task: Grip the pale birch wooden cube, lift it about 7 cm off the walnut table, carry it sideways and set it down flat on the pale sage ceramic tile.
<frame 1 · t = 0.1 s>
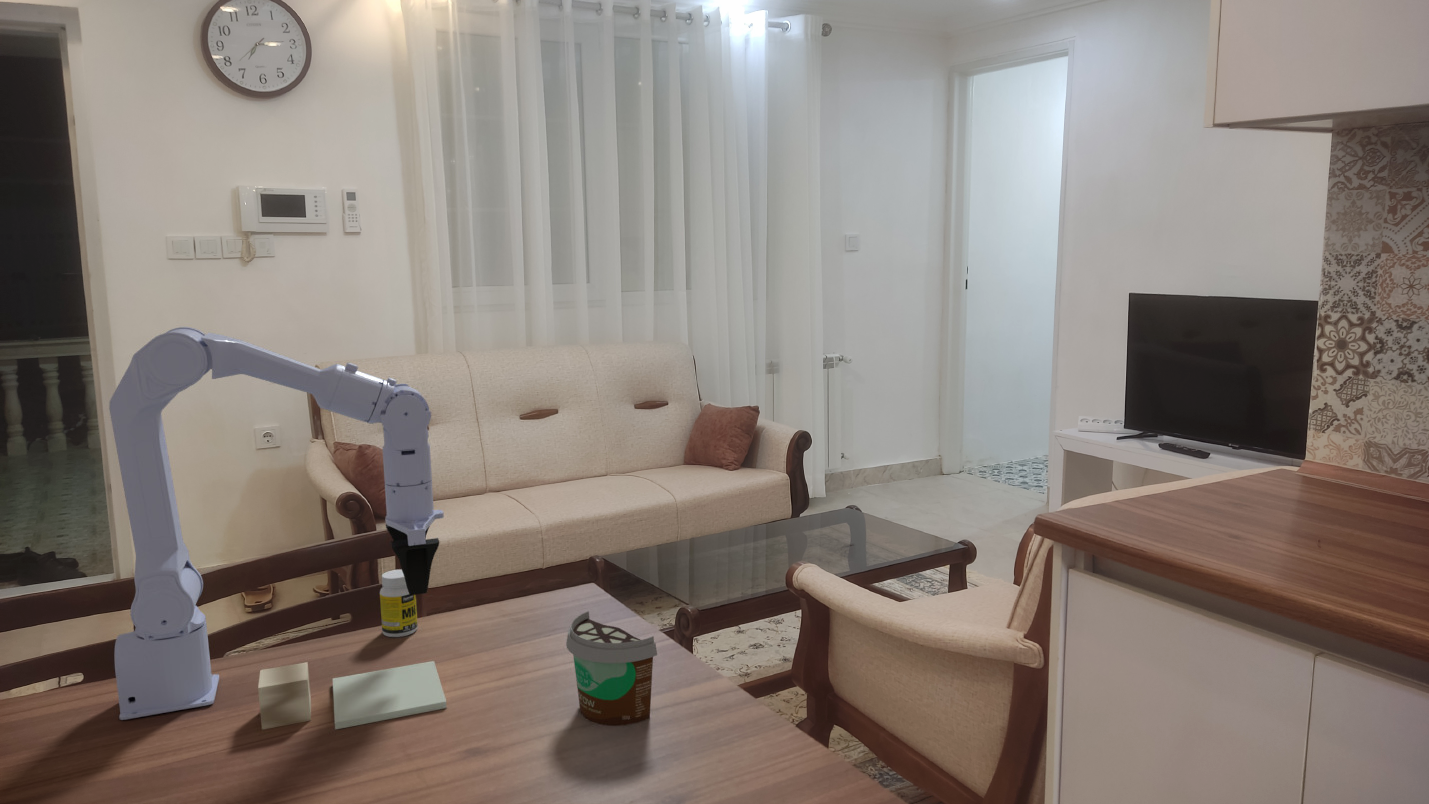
hand: (414, 583, 120), 10 cm above the table, fingers open, 7 cm apart
tile: (388, 695, 111), on the table
food container: (602, 716, 106), on the table
supplement bottle: (400, 632, 130), on the table
cube: (287, 715, 107), on the table
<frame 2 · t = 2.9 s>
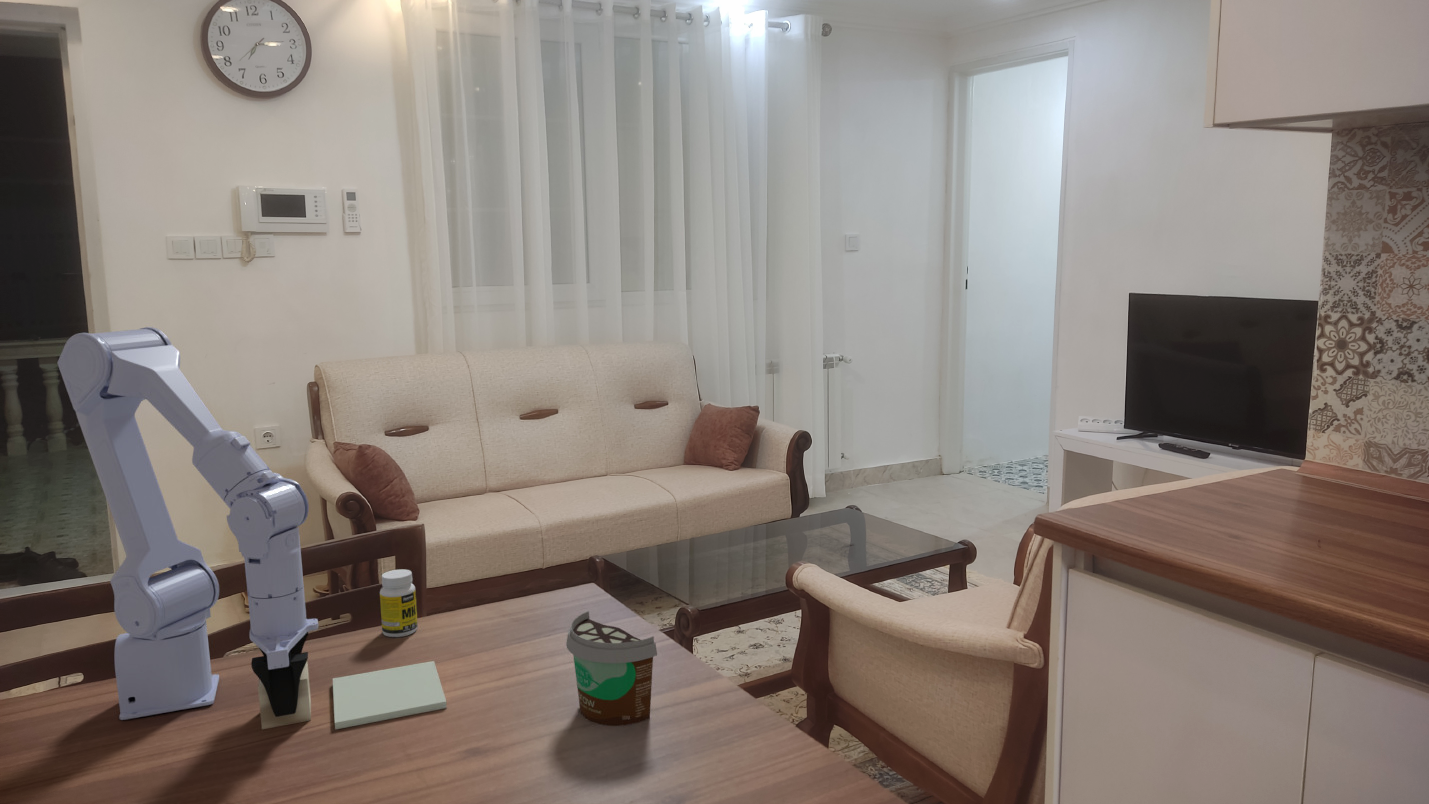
hand: (286, 703, 106), 1 cm above the table, fingers closed on cube, 5 cm apart
cube: (287, 714, 106), on the table, touching gripper
everything else where it was.
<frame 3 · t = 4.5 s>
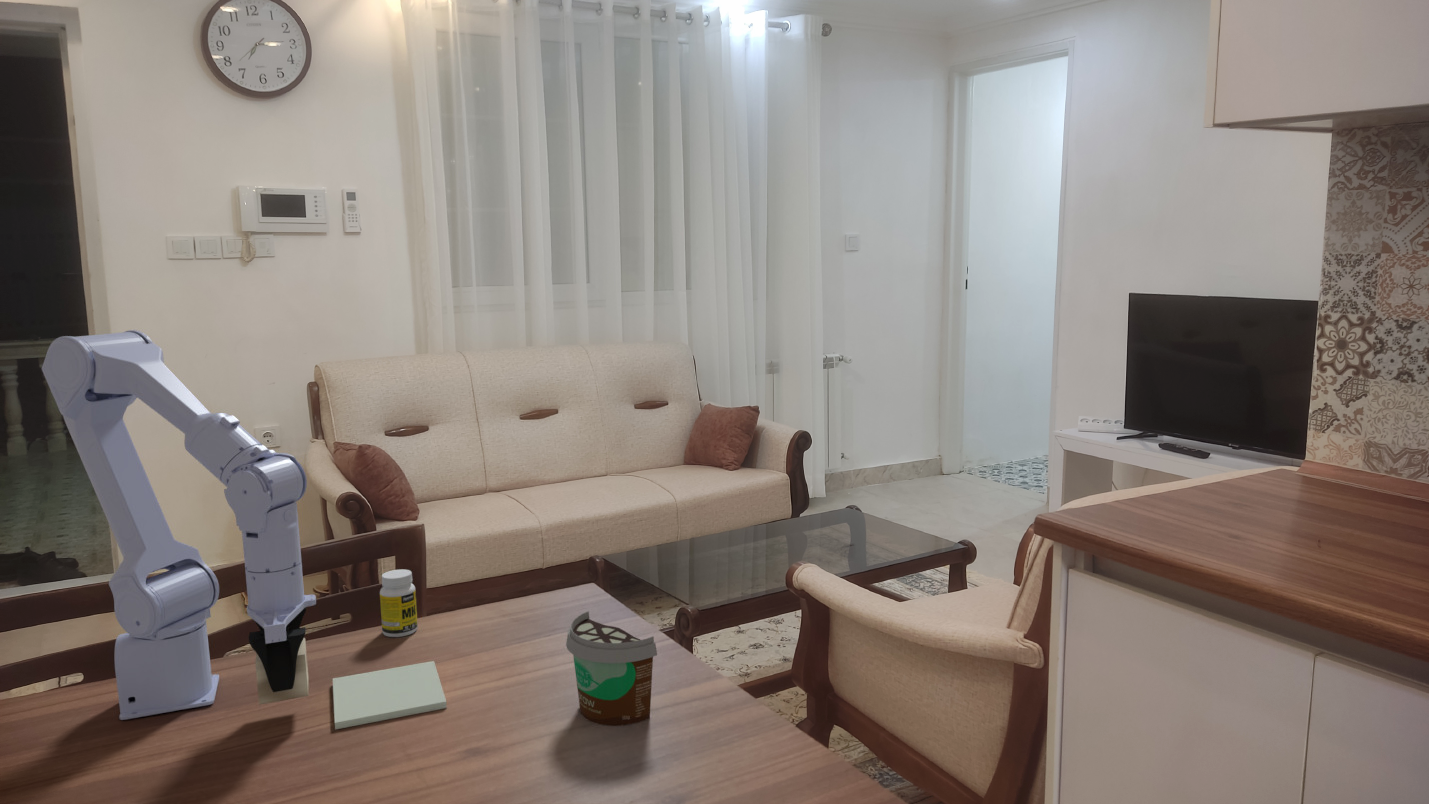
hand: (283, 679, 106), 4 cm above the table, fingers closed on cube, 5 cm apart
cube: (284, 690, 106), point 3 cm above the table, touching gripper
everything else where it was.
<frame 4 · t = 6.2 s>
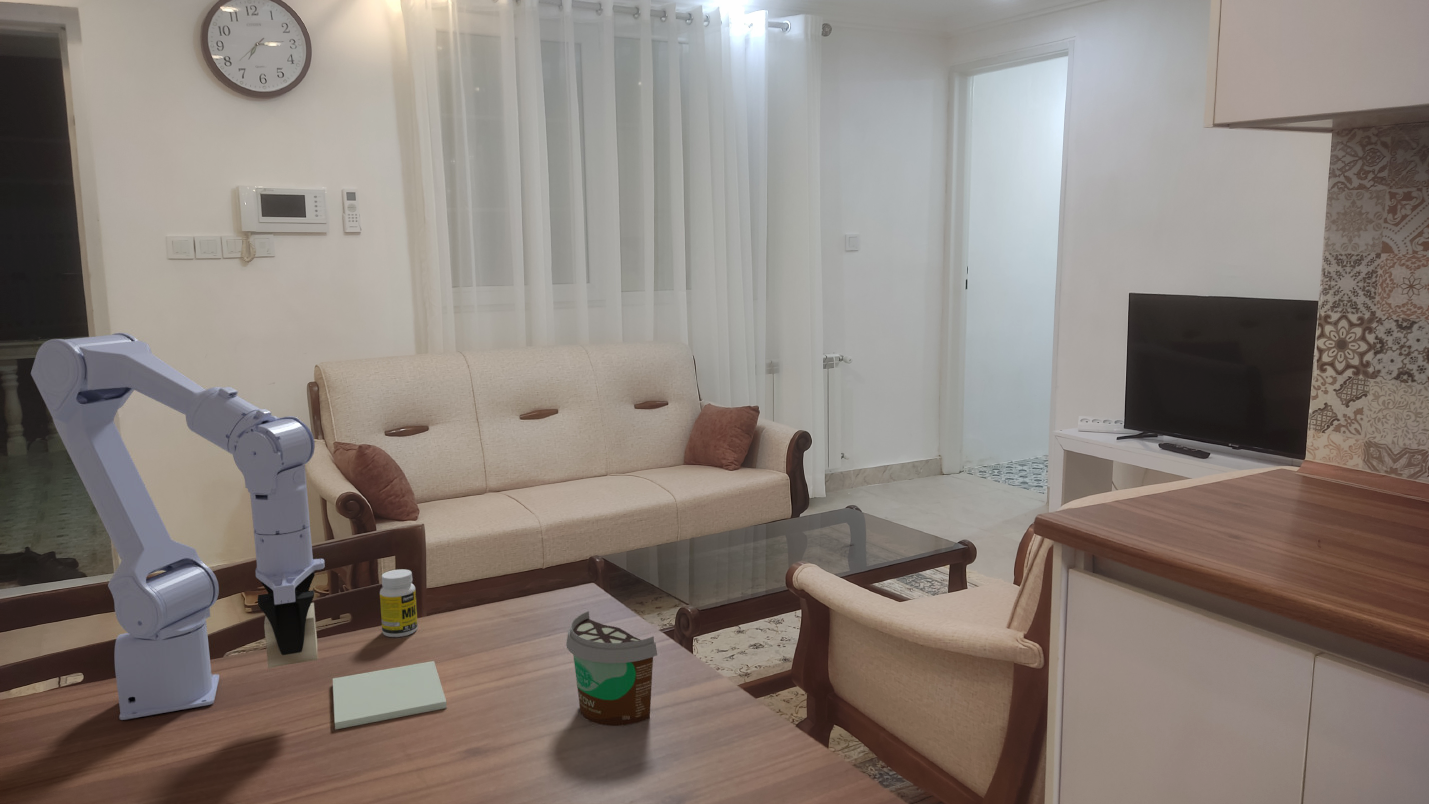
hand: (292, 643, 106), 8 cm above the table, fingers closed on cube, 5 cm apart
cube: (293, 655, 106), point 7 cm above the table, touching gripper
everything else where it was.
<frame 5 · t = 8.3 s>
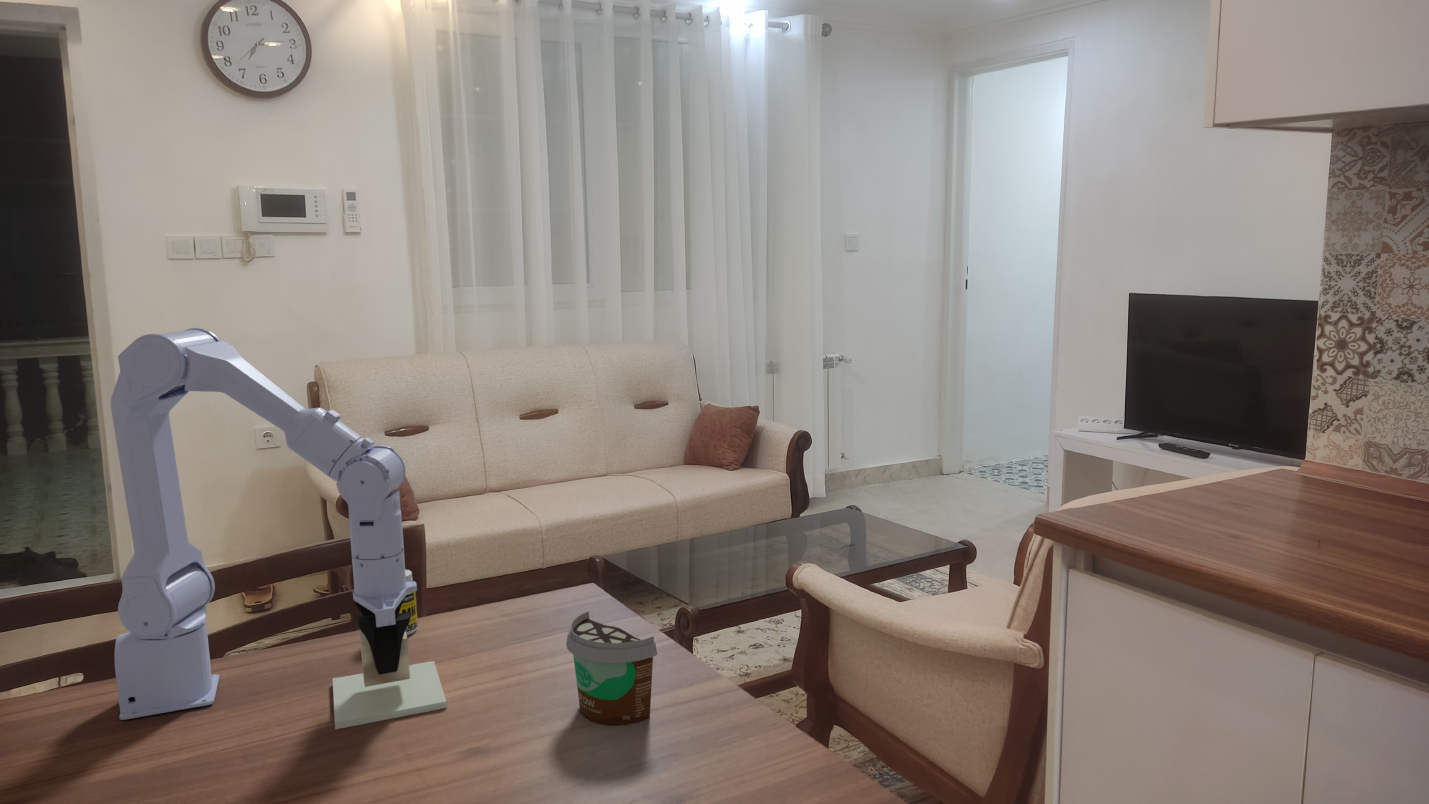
hand: (386, 662, 110), 4 cm above the table, fingers closed on cube, 5 cm apart
cube: (386, 674, 110), point 3 cm above the table, touching gripper
everything else where it was.
when the fingers open (3 cm above the table, at t = 9.7 s): cube drops 1 cm, resting on tile.
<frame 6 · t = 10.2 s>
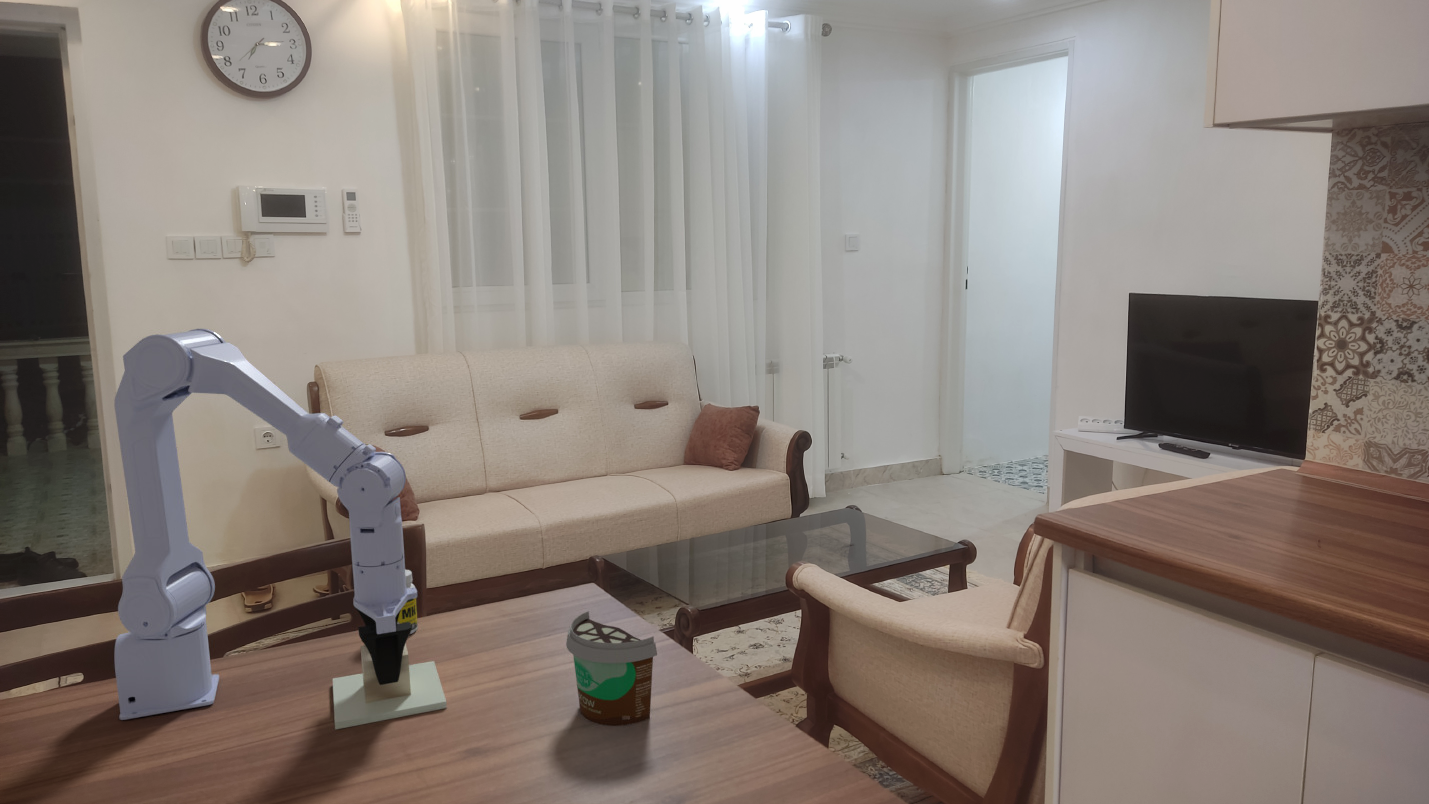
hand: (386, 669, 110), 3 cm above the table, fingers open, 7 cm apart
cube: (387, 689, 111), point 1 cm above the table, touching tile
everything else where it was.
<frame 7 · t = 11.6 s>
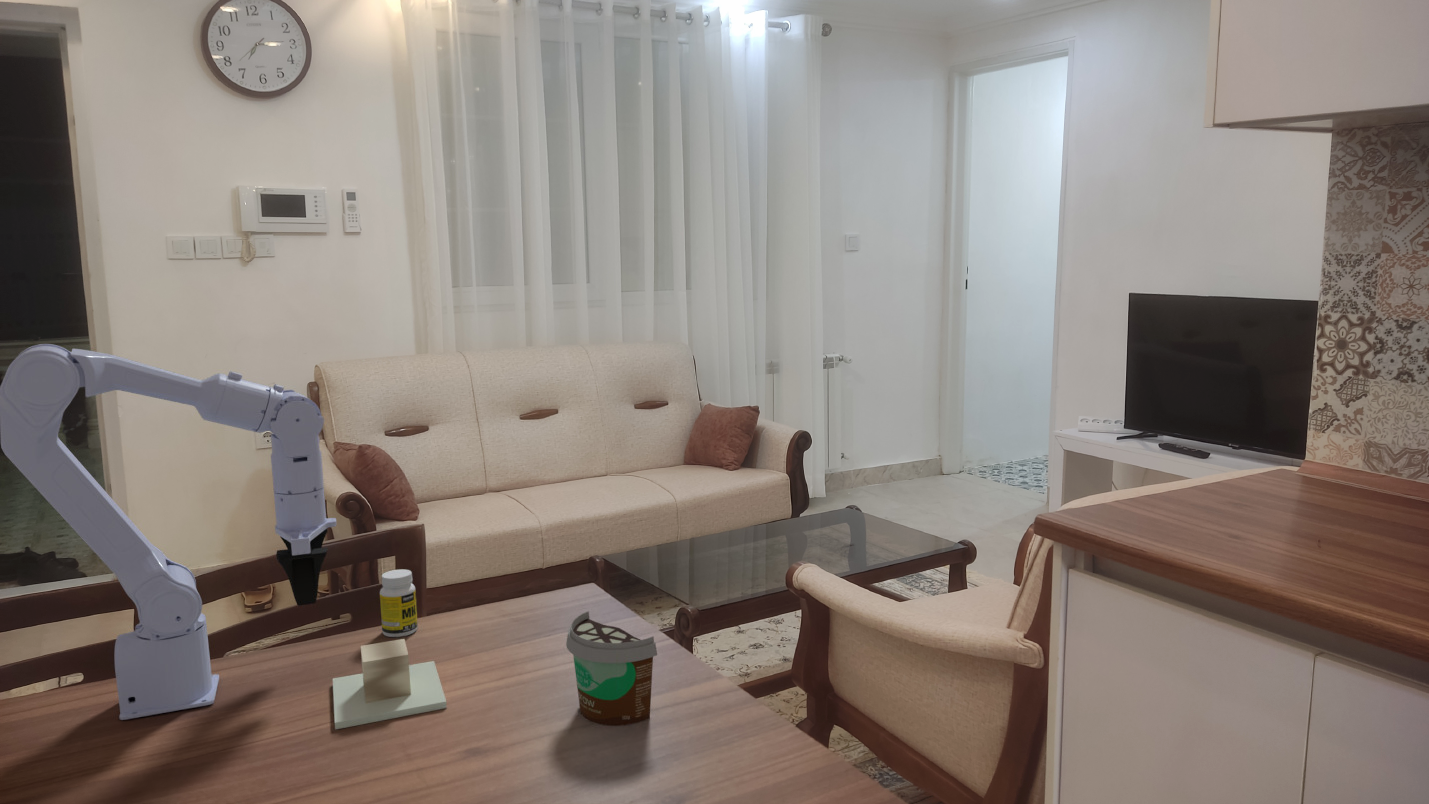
hand: (307, 593, 118), 10 cm above the table, fingers open, 7 cm apart
nothing on the table moved.
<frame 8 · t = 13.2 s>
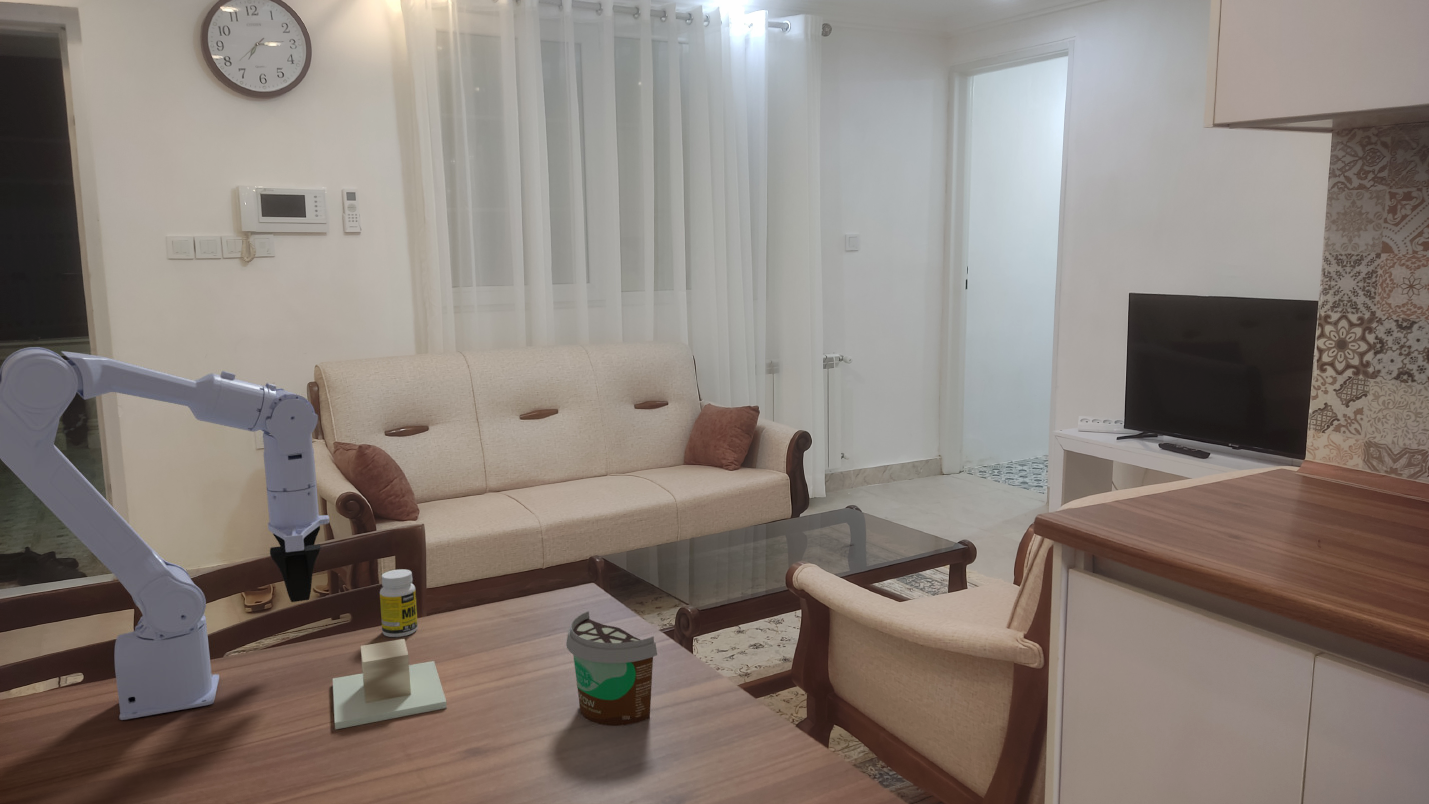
hand: (300, 590, 118), 10 cm above the table, fingers open, 7 cm apart
nothing on the table moved.
at the end: cube inside the target area on the tile (0.1 cm from its centre), point 0.8 cm above the tile's base; cube tilted 0°; the gripper is holding nothing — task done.
